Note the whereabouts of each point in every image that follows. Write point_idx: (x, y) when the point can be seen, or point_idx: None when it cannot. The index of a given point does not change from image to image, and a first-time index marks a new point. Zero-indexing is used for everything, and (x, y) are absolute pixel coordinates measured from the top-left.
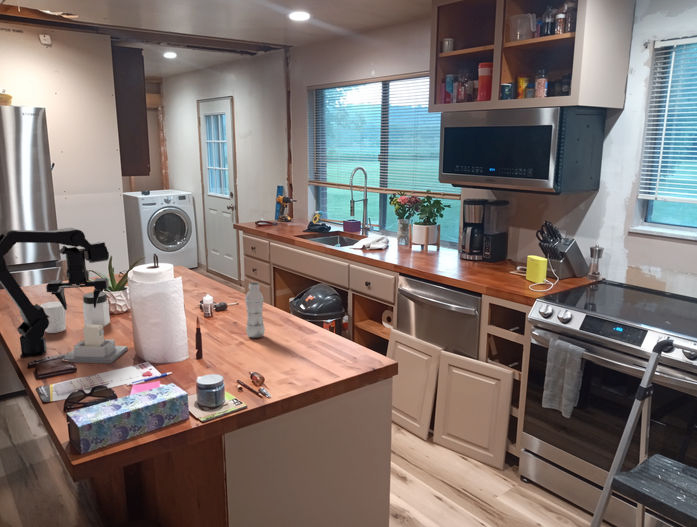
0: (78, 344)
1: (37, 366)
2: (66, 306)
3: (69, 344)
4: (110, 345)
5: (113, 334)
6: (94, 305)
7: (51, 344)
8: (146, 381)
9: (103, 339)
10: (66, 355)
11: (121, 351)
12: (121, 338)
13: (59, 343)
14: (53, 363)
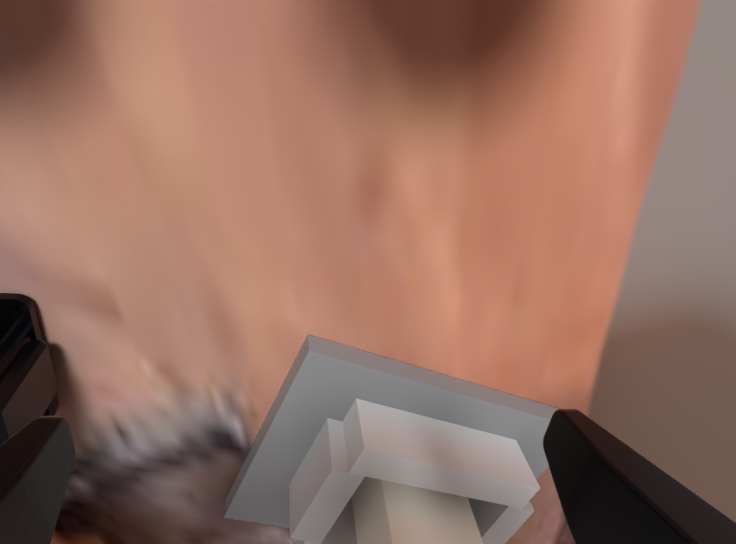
0: (316, 526)
1: (103, 526)
2: (44, 481)
3: (199, 236)
4: (500, 541)
5: (557, 87)
6: (572, 503)
7: (27, 192)
8: None
9: (477, 536)
10: (242, 490)
11: (535, 477)
12: (590, 215)
13: (97, 186)
14: (182, 506)
